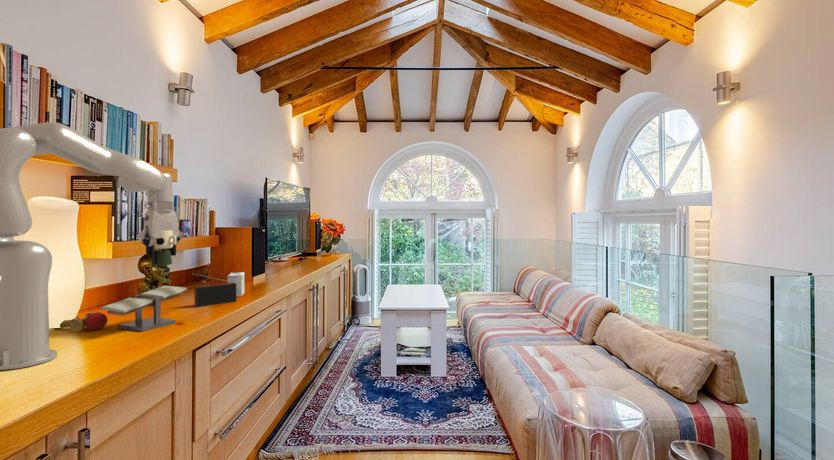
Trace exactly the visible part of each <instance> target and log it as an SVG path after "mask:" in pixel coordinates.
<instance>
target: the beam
mask: <svg viewBox="0 0 834 460" xmlns="http://www.w3.org/2000/svg"><path fill="white" fill-rule="evenodd" d="M187 290H188V288H187V287H183V286H173V285H172V286H171V285H163V286H160V287H157V288H155V289H151V290H148V291H144V292H142V293H140V295H142V297H141V298H135V297H127V298H125V299H121V300H118V301H115V302H112V303H110V304H106V305H103V306H101V307H100V308H101V310H103V311H107V314H110V315H117V316H127V315H129V314H131V313H135V311H137V310H140V309H142V310H143V309H145V308H147V307H153V308H154V297H160V303H161V302H164V301H167V300H169V299H172V298H174V297H178V296H180V295H183V293H184V292H185V291H187Z"/></svg>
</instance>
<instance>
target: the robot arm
mask: <svg viewBox="0 0 834 460" xmlns="http://www.w3.org/2000/svg"><path fill="white" fill-rule="evenodd" d="M41 155H55V156H58V157H60V158H61V159H64V160H66V161H68V162H70V163H72V164H75V165H77V166H78V167H81V168H82V169H85V170H87V171H89V172H93V173H97V174H102V175H109V176H115V177H118V183H119V185H120V186H121V188H123V189H124V190H126V191H128V192H132V193H137V192H139V193H141V192H146V193H147V195H146V197H147V203H146V202H145V203H144V208H147V210H146V211H145V215H144V221H143V229H142V230H141V231H140V232H139V233H137V234H136V237H137V239H138V240H139V241H140V242H141V244H143V246H145V254H146V258H151V259H152V258H154V257H155V256H154V250H155V249H154V246H152V245H153V243H154V239H160V231H172V233H173V235H174V236H176V244H175V245H173V247H172V248H168V250H169V251H170V253H171V257H172V256H174V257H175V256H176V253H177V245H178V243H179V242H180V241H181V239H182V237H183V236H184V233H183V232H182V231H181V230H180V229H179V222H178V217H177V213H176V211H175V210H174V208H173V206H174V204H173V177H172V174H171V173H168V172H162V171H161V170H160V169H158V168H156V166H154V165H151V164H150V163H148V162H146V161H144V160H142V159H140V158H138V157H135V156H132V155H129V154H126V153H123V152H120V151H118V150H115V149H111V148H108V147H106V146H104V145H102V144H101V143H99V142H97V141H94V140H93V139H91V138H89V137H88V136H86V135H84V134H82V133H81V132H79V131H77V130H75V129H73V128H71V127H70V126H67V125H66V124H63V123H60V122H54V121H51V122H50V121H49V122H48V121H47V122H40V123H39V122H38V123H30V124H25V125H19V126H10V127H2V128H0V371H5V370H7V371H8V370H14V369H15V370H17V369H22V368H27V367H33V366H36V365H39V364H43V363H47V362H49V361H52V360H54V359H55V358H56V357H58V351H57V350H55V349H50V321H49V320H50V319H49V316H50V313H49V312H50V311H49V306H50V305H49V281H50V273H51V271H52V270H51V269H52V267H53V256H52V253H51V251H50V250H49V249H48V248H47V247H46V246H45V245H43V244H42V243H40V242H36V241H33V240H32V241H31V240H15V237H18V236H22V235H25V234H27V233H28V232H29V231H30V229H31V228H32V226H33V218H32V215H31V212H30V208H29V207H28V204H27V201H26V198H25V196H24V193H23V191H22V187H21V182H20V173H21V170H22V168H23V167H24V165H25V164H26V162H27V161H29V160H30V159H32V157H34V156H41Z"/></svg>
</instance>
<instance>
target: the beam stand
mask: <svg viewBox="0 0 834 460" xmlns="http://www.w3.org/2000/svg"><path fill="white" fill-rule="evenodd" d="M141 297H143V296H142V295H141V294H136V295H134V298H141ZM161 316H162V315H161V302H160V297H154V307H153V316H152V317H145V318H143V309H140V310H137V311H135V312H134V318H135V319H134V321H129V322H124V323H120V324H118V329H122V330H128V331H134V332H141V333H142V332H143V333H144V332H147V331H150V330H154V329H158V328H162V327H165V326H169V325H174V324H176V323H177V320H176V319H174V318H172V319H171V318H165V317H161Z"/></svg>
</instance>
